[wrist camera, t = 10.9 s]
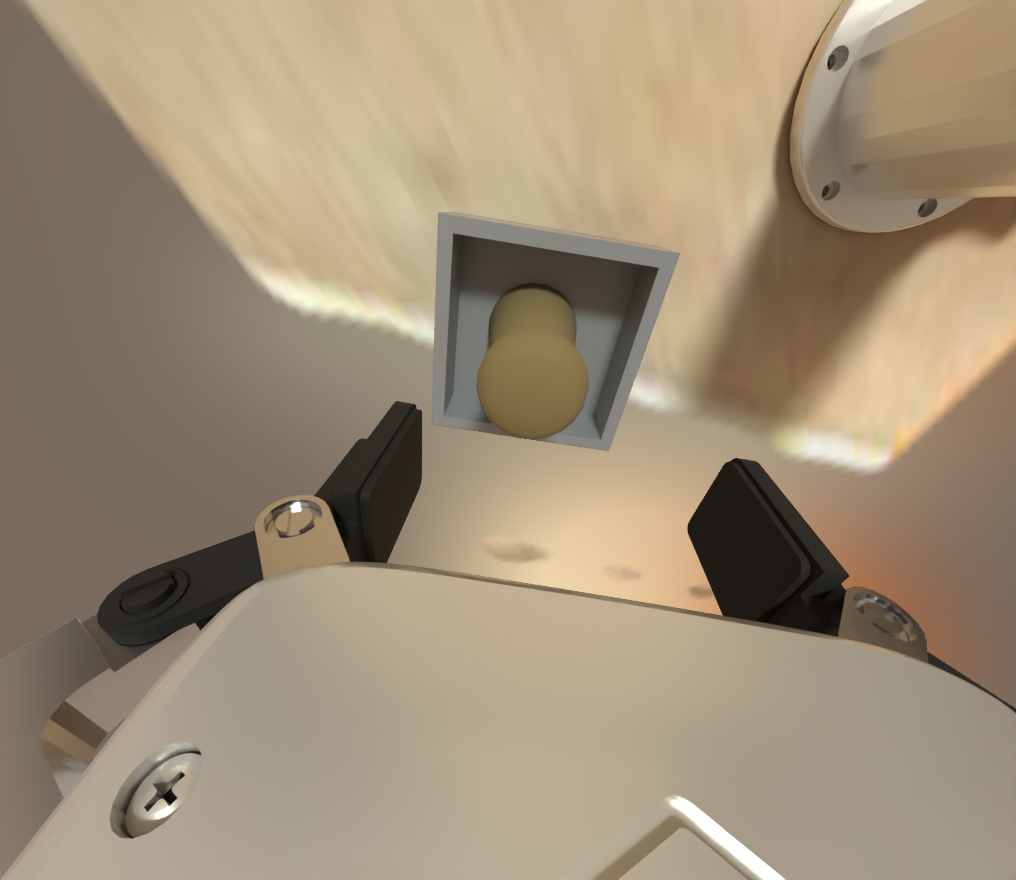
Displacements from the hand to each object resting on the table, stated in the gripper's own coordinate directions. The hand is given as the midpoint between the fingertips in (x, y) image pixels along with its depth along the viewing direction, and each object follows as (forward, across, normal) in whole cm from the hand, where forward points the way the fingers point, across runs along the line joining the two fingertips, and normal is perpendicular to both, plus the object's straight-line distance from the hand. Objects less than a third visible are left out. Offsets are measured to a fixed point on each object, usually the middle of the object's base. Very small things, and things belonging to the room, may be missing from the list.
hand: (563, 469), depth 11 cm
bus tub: (+17, +1, +1) cm, 17 cm away
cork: (+16, +1, +1) cm, 16 cm away
